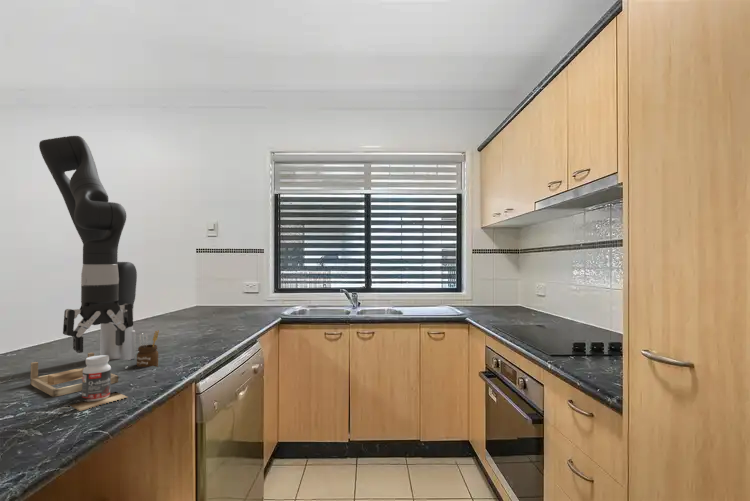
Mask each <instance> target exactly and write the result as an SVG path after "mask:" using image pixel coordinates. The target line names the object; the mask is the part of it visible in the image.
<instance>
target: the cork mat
mask: <svg viewBox="0 0 750 501" xmlns="http://www.w3.org/2000/svg"><path fill="white" fill-rule="evenodd" d="M128 397H129V396H127V395H125V394H122V393H120V392H117V391H113V392H110V396H109V397H107V398H105V399H103V400H99V401H92V402H87V401H84V400H80V401H77V402H74V403H70V404H68V406H69V407H71V408H73V409H75V410H77V411H79V412H81V411H86V410H90V409H92V407H93V408H97V407H100V406H99V405H101V406H103V405H102V404H105V405H107V404H106V403H108V404H110V403H109V402H112V403H114V402H113V401H116V402H118V401H117V400H119V401H122V400H121V399H123V400H125V399H124V398H127V399H129V398H128ZM96 406H97V407H96ZM89 408H90V409H89Z"/></svg>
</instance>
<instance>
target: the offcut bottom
mask: <svg viewBox="0 0 750 501" xmlns="http://www.w3.org/2000/svg"><path fill="white" fill-rule="evenodd" d="M78 380H82V378H78V379H74V380H70V381H66V382H62V383H58V384H59V385H60V384H64V383H68V382H72V381H78ZM44 383H46V384H48V385H50V386H55V385H56V384H50V383H48V382H44ZM58 384H57V385H58Z"/></svg>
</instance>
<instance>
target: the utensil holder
mask: <svg viewBox="0 0 750 501" xmlns="http://www.w3.org/2000/svg"><path fill="white" fill-rule="evenodd" d="M159 332H160V330H154V333H153V337H152V341H153V343H152V344H148V343H146V344H145V342H143V343H144V344H142V342H141V340H144V335H145V337H146V340H148V338H149V336H148V335H147V333H144V335H143V332H142V333H140V334H139V345H140V346H138V348H137V349H138V350H137V351H138V352H137V354H136V366H137V367H140V368H143V367H144V368H145V367H156V368H157V367H159V352H158V345H157V344H155V343H156V342H157V340H158V336H159ZM141 335H142V337H143V338H141Z"/></svg>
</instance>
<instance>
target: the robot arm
mask: <svg viewBox="0 0 750 501" xmlns="http://www.w3.org/2000/svg"><path fill="white" fill-rule="evenodd" d="M38 143H39V145H38V146H39V147H38V148H39V151H40V154H41V156H42V159H43V161H44V163H45V165H46V166H47V168H48V171H49V172H50V174H51V176H52V178H53V181H54V182H55V184H56V185H57V187H58V190H59V192H60V194H61V196H62V198H63V201H64V203H65V206H66V208H67V210H68V213H69V215H70V218H71V221H72V223H73V225H74V227H75V229H76V232H77V233H78V236H79V237H80V239H81V242H82V269H81V274H80V275H81V278H80V279H81V281H80V284H81V286H80V287H81V288H80V290H81V292H80V307H79V309H78V308H76V309H71V308H66V309H65V310H64V315H63V327H62V334H63V335H64V336H65V335H66V336H69V337H72V349H73V351H75V352H76V353H77V354H82V353H84V336H83V335H84V333H85V332H86V331H87V330H89V329H90V327H91V326H92V325H93V326H98V325H100V338H99V339H100V345H99V346H100V347H99V349H100V350H99V355H108V356H109V361H110V360H118V359H120V360H125V361H130V360H133V359H136V333H137V332H136V330H135V329H134V304H135V300H136V295H137V294H136V292H137V277H138V273H137V268H136V266H135V264H134V263H132V262H129V261H118V255H119V254H118V251H119V250H118V249H119V244H120V240H121V236H122V234H123V233H122V232H123V230H124V227H125V225H126V222H127V211H126V209H125V207H124V206H123V205H122V204H121V203H118V202H112V201H111V202H110V201H109V195H108V192H107V191H106V188H105V187H104V185H103V183H102V182H101V180H100V176H99V174H98V169H97V165H96V162H95V160H94V156H93V154H92V151H91V149H90V147H89V144H88V143H87V142H86V139H84V138H83V137H81V136H80V135H68V136H61V137H54V138H48V139H43V140H40V141H39V142H38ZM72 171H74V172H73V174H72V175H71V177H70V178H69V177H68V176H67V174H66V173H65V172H72ZM79 315H80V316H81V317H82V319H81V320H80V321H79V323H77V326H76V327H75V320H76V319H77V318H78V316H79ZM74 327H75V328H74Z"/></svg>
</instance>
